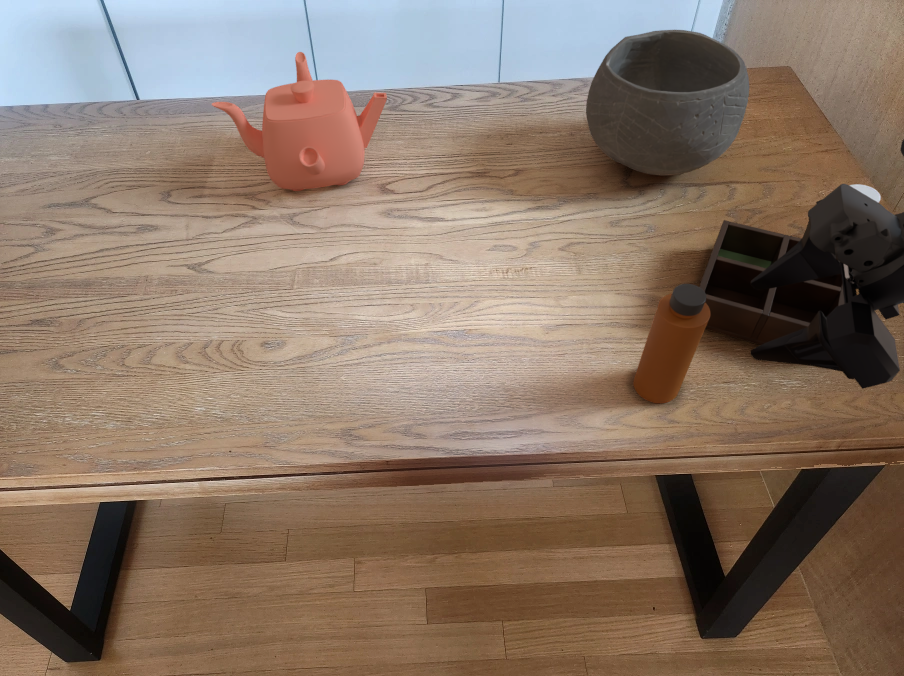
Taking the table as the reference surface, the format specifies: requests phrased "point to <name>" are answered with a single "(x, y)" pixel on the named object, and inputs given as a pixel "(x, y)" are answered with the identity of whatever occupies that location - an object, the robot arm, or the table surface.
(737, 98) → the bowl
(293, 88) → the teapot
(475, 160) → the table surface
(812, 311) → the rack
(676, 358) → the amber bottle
